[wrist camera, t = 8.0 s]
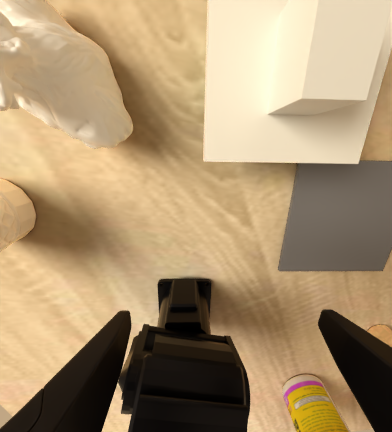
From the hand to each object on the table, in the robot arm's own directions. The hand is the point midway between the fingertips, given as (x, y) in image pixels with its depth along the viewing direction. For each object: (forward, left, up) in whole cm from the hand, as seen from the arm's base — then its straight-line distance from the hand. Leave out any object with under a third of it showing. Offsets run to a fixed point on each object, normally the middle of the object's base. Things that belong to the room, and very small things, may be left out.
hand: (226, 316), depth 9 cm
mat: (0, -16, -13) cm, 20 cm away
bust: (+12, +11, -13) cm, 21 cm away
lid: (+12, -5, -8) cm, 15 cm away
